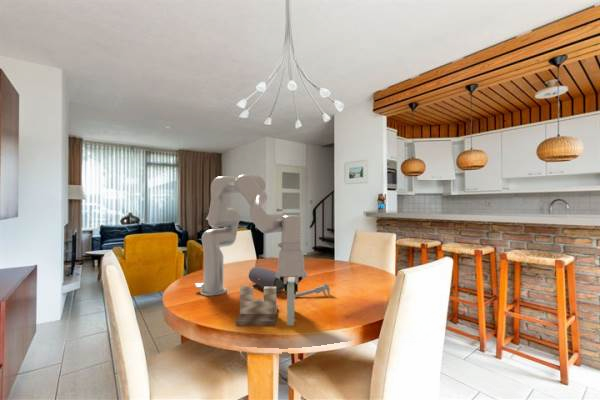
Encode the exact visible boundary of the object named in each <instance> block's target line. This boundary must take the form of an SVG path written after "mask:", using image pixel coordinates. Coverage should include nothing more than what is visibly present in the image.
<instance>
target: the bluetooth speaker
mask: <svg viewBox="0 0 600 400" xmlns="http://www.w3.org/2000/svg"><path fill="white" fill-rule="evenodd" d="M276 272H277V271H274V270H271V269H268V268H263V267H259V266H254V267H252V268H251V269H250V270H249V272H248V279H249V280H250V282H252V283H253V284H255V285H257V286H258V287H259V289H260V288H261V289H262V290H264V287H276V293H277V292H282V291H284V283H283V282H282V281H281V280H280V279H278V278H276V277H275V274H276Z"/></svg>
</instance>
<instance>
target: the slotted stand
mask: <svg viewBox="0 0 600 400" xmlns="http://www.w3.org/2000/svg"><path fill="white" fill-rule="evenodd" d="M277 313H278V305H277V291H276V287H264V289H263V298H254V286H248V285H247V286H243V285H242V286H241V287H239V315H238V317H237V319H236V321H235V325H236V326H275V323H276V318H277Z"/></svg>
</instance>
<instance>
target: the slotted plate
mask: <svg viewBox="0 0 600 400" xmlns="http://www.w3.org/2000/svg"><path fill="white" fill-rule="evenodd" d="M287 281H288V285H287V294H286V305H287V306H286V326H288V327H289V326H291V327H292V326H295V310H296V309H295V304H296V303H295V300H296V298H295V294H294V283H295V277H287Z"/></svg>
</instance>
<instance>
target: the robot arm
mask: <svg viewBox="0 0 600 400" xmlns="http://www.w3.org/2000/svg"><path fill="white" fill-rule="evenodd" d="M265 190H266V181H265V179H264V178H263V176H262V177H261V176H260V175H257V174H256V175H255V174H246V173H245V174H240V175H238V177H236V176H227V175H225V176H224V175H223V176H222V175H221V176H217V177H215V178H214V179H213V180H212V182H211V184H210V203H209V204H210V205H209V209H208V216H207V223H208V225H209V226H210V227H211V229H207V230H204V232H203V233H202V235H201V244H202V249H203V282H202V283H195V289H200V291H199V293H200V295H202V296H205V297H206V296H209V297H214V295H215V296H220V295H224V294H225V293H226V292H227V287H225V286H224V254H223V251H222V250H221V249H220V248H224V247H229V246H232V245H234V244H235V242H236V240H237V235H238V229H239V221H240V216H239V212H238V211H237V210H236V209H235V208H233V207H229V198H228V196H227V195H237V196H239V195H240V196H242V197H243V198H244V200H245V201H246V202H247V203H248V204H249V217H250V220H251V222H252V223H253V224H254V226H256V228H257V229H258V230H259V231H260V232H261V233H264V234H274V233H275V234H276V233H281V242H280V243H277V247H278V248H280V250H279V252H278V260H277V270H276V271H275V272H276V274H275V277H276V278H278V279H280V280H281V281H282V282H283V283H284V289H283V291H284V292H285V294H286V295H287V285H288V278H289V277H295V283H294V294H297V293H299V292H298V291H299V290H298V289H299V288H298V287H299V283H300V282H301V281H302V280H303V279H305V278H308V274H307V272H306V270H305V259H304V251H303V249H302V244H301V243H302V219H301V216H300V215H297V214H284V213H270V214H269V213H267V212H266V211H265V210H264V208H263V207H262V206H264V205H265V203H266V202H267V200H268V195H267V193H266V192H265ZM212 227H213V228H212Z"/></svg>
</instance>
